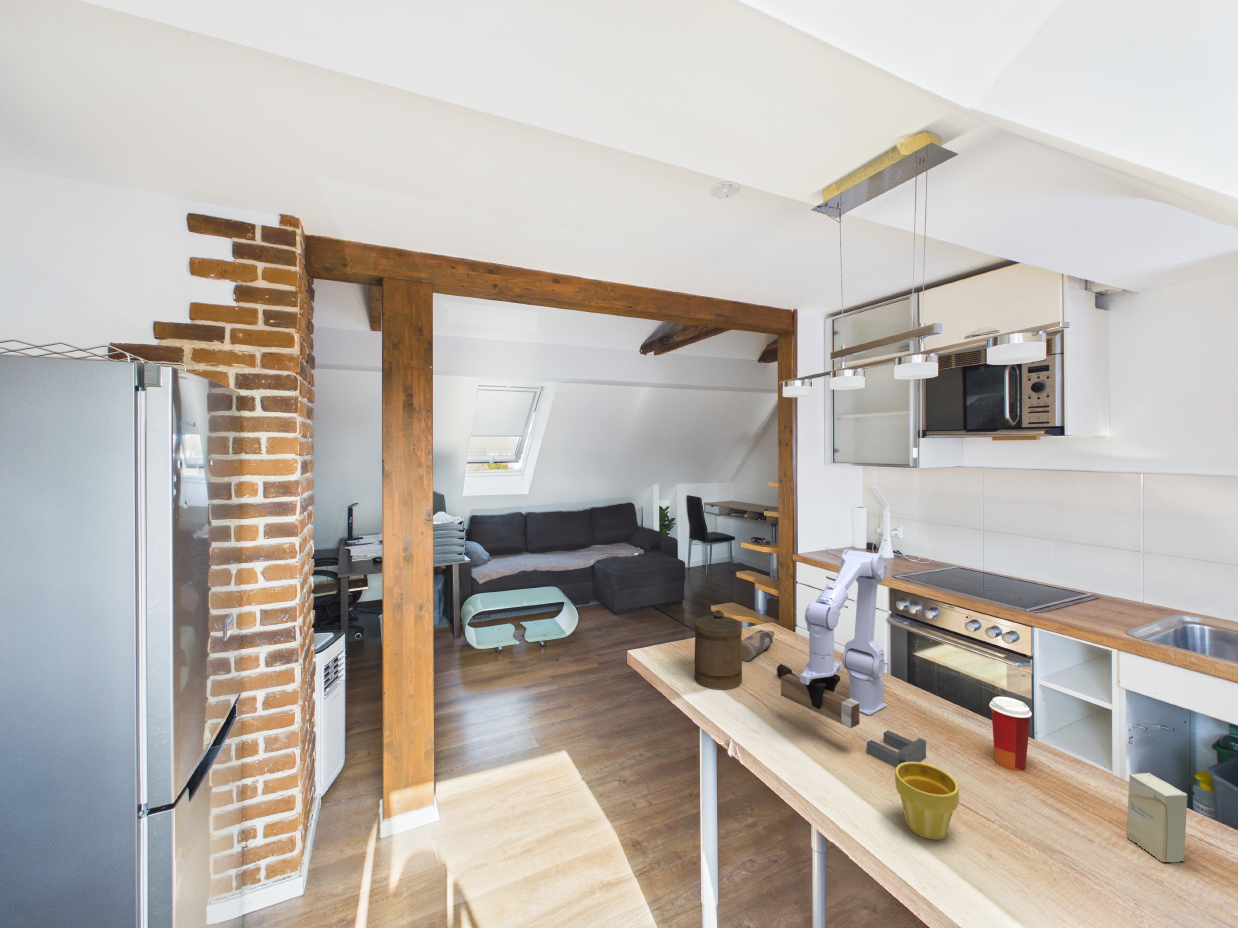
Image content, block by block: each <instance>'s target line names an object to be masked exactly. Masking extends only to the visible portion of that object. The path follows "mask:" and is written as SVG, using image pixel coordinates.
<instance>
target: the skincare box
mask: <svg viewBox="0 0 1238 928" xmlns="http://www.w3.org/2000/svg"><path fill="white" fill-rule="evenodd" d="M1128 779H1129V780H1128V781H1129V783H1128V798H1127V799H1128V800H1127V816H1126V817H1127V821H1126V822H1127V823H1126V838H1127V837H1128V838H1129V839H1128V838H1127V839H1128V840H1130V841H1131V840H1132V841H1134V842H1135V843H1137V844H1138V845H1140V846H1141V847H1142V848H1143V849H1142V848H1141V847H1140V848H1141V849H1142V850H1144V849H1145V850H1146V851H1148V852H1149V853H1151V854H1152V855H1153V856H1155V857H1156V858H1158V859H1159V860H1160V861H1162V862H1171V863H1181V862H1180V861H1185V846H1186V831H1187V830H1186V827H1187V825H1186V824H1187V808H1188V807H1187V806H1188V794H1187V793H1186V792H1184V791H1182V790H1180V789H1179V788H1177V787H1175V786H1173V785H1172V784H1170V783H1168V782H1166V781H1165V780H1162V779H1160V778H1159V777H1157V776H1156V775H1154V774H1152V773H1151V772H1141V773H1140V772H1139V773H1129V777H1128ZM1132 841H1131V842H1132ZM1134 842H1133V843H1134ZM1135 843H1134V844H1135ZM1137 844H1136V845H1137ZM1138 845H1137V846H1138ZM1145 850H1144V851H1145ZM1146 851H1145V852H1146ZM1148 852H1147V853H1148ZM1149 853H1148V854H1149ZM1151 854H1150V855H1151ZM1152 855H1151V856H1152ZM1153 856H1152V857H1153ZM1155 857H1154V858H1155ZM1156 858H1155V859H1156ZM1158 859H1157V860H1158ZM1159 860H1158V861H1159ZM1160 861H1159V862H1160ZM1162 862H1161V863H1162Z"/></svg>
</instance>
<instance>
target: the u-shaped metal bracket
mask: <svg viewBox="0 0 1238 928" xmlns="http://www.w3.org/2000/svg"><path fill="white" fill-rule="evenodd" d="M884 744H886V745H887V746H890V747H892V748H890V747H887V746H885V745H884ZM893 748H894V749H896V750H898V751H896V750H894V749H893ZM866 753H867V754H869V755H870V756H873V757H874V758H876V759H879V760H880V761H883V762H884V763H886V764H888V765H890V766H893V767H895V768H896V767H897V766H898V765H899V764H901V763H905V762H920V763H921V762H922V761H923V760H925V759H926V758H927V740H926V739H923V738H920V737H919V738H917V739H915V740H914V741H913V740H911V739H908V738H906V737H905V736H902V735H900V734H898V733H895V732H893V731H890V730H886V731H884V732H883V744H881V743H879V742H878V741H875V740H873V739H871V740H868V741H866Z"/></svg>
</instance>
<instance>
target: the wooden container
mask: <svg viewBox="0 0 1238 928" xmlns="http://www.w3.org/2000/svg"><path fill="white" fill-rule="evenodd" d="M694 627H695V628H694V632H695V633H694V634H695V635H694V640H695V641H694V680H695V681H696V682H697V684H699V685H701V686H703V687H705V688H709V689H712V690H731V689H736V688H737V687H739V686H741V684H742V683H743V661H742V635H743V634H742V632H743V625H742V622H741V621H740V620H738V619H736V618H733V617H730V616H729V617H728V616H725V613H724V612H723V611H722V610H720V609H715V610H714V611H713V612H712V615H705V616H701V617H699V618H697V619H696V620H695V624H694Z"/></svg>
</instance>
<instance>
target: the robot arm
mask: <svg viewBox="0 0 1238 928" xmlns="http://www.w3.org/2000/svg"><path fill="white" fill-rule="evenodd" d="M884 575H885V560H884V557H883V555H882V554H881V553H878V552H877V553H873V552H866V551H860V550H851V549H848V548H847V549H845V550H843V552H842V553H841V557H840V569H839V572H838V574H837V576H836V578H835V579H834V581H833V582H829V583H827V584H826V586H825V587H824V588H823V590H822V592H821V593H820V595H819V596H818V597H817V599H816V600H815V601H812V602H809V603H808V604H807V606H806V607H805V611H804V622H806V629H807V631H808V632H809V634H808V635H809V636H808V639H809V641H808V642H809V643H808V644H809V647H808V651H809V655H808V657H809V660H808V661H809V662H808V663H806V664H805V667H806V669H805V670H804V671H803V672H802V673H800V674H799V678H800V682H801V683H803V684H805V686H806V687H807V690H808V692H809V695H810V699H811V703H812V706H813V707H815V708H817V709H821V706H822V697H823V692H824V689H827V690H829V691H831V692H834V693H835V690H836V688H837V685H838V684H839V683H840V681H841V675H839V674H836V673H837V672H842V671H843V668H844V669H845V670H846V673H847V674H848V676H849V677H848V678H849V679H848V680H849V683H848V684H849V685H848V686H849V687H848V689H849V692H848V693H849V694H848V699H853V700H855V701H857V702H860V713H862V714H864V715H867V716H871V715H873V714H875V713H877V712H879V711H881V710H883V709H884V708H886V707H888V704H887V703H885V701H884V700H885V698H884V697H885V694H884V693H885V683H884V680H883V678H882V677H883V675H884V674H885V670H886V663H885V662H886V661H885V653H884V652H885V651H884V650H883V648H881V647H880V646H879V644H878V643H876V642H875V636H874V635H875V623H876V610H877V597H878V596H877V595H878V594H877V593H878V584H879V583H883V582H884ZM855 582H857V592H856V593H857V595H856V609H855V610H856V612H855V626H854V638H852V639H850V640H848V641H847V642H846V643H845V645H844V651H843V653H842V658H841V660H842V661H841V662H840V661H837V660H834V659H835V658H834V657H835V653H834V652H835V651H834V650H835V628H836V627H837V625H838V623H839V618H840V615H841V611H840V610H841V608H843V606H844V605H845V602H846V601H847V599H848V597H849V594H848V592H847V591H848V590H849V589H850V588H851V586H852V585H853V584H854V583H855Z"/></svg>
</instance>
